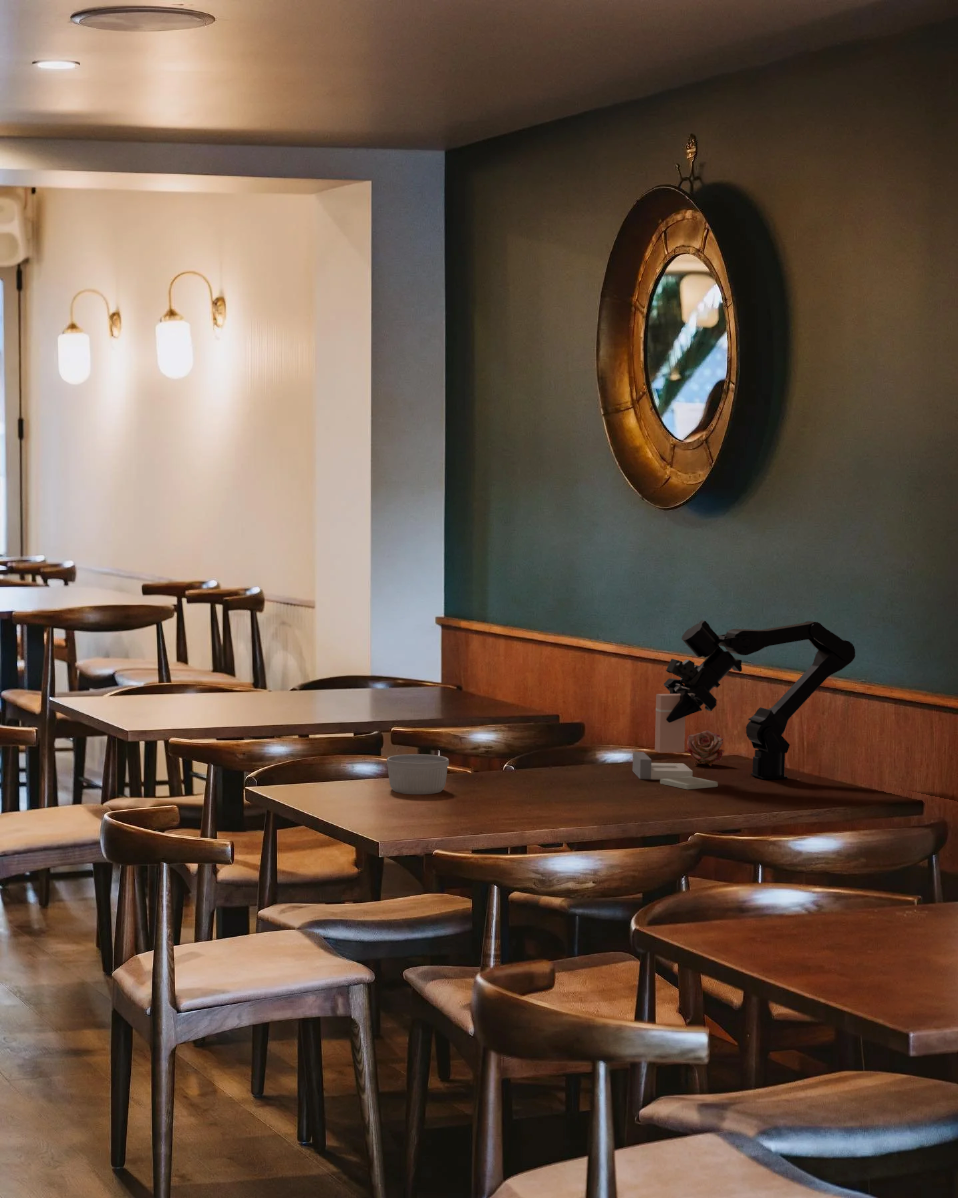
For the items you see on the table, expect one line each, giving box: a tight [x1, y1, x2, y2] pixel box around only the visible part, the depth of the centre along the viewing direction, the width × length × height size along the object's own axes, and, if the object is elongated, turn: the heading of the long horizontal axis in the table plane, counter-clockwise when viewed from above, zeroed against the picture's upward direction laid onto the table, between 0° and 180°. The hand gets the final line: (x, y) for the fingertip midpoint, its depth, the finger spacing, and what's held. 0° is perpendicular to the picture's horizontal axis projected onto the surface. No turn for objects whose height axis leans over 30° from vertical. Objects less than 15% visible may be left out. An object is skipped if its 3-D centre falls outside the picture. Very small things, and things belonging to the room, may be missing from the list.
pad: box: [659, 776, 719, 790], centre depth 362 cm, size 9×9×1 cm
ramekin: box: [386, 753, 450, 795], centre depth 345 cm, size 13×13×7 cm
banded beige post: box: [654, 693, 686, 754], centre depth 369 cm, size 6×3×13 cm, turn 105°
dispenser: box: [632, 751, 694, 780], centre depth 375 cm, size 12×12×4 cm
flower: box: [685, 729, 725, 767], centre depth 394 cm, size 10×9×8 cm
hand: (664, 720), depth 368 cm, fingers closed on banded beige post, 3 cm apart
